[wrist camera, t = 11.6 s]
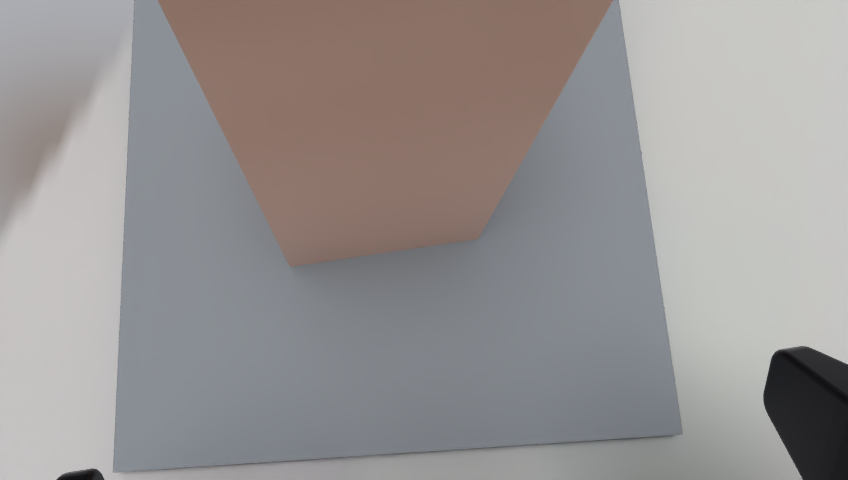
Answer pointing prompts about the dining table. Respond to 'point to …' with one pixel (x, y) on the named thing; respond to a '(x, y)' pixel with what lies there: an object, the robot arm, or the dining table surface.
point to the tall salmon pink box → (380, 109)
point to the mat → (385, 297)
